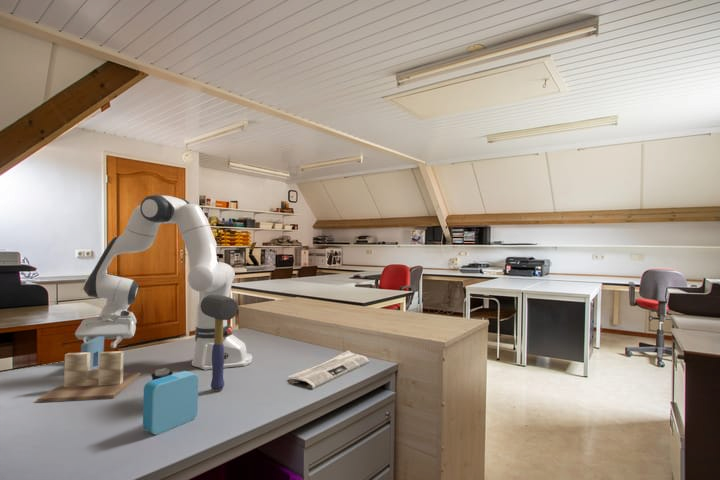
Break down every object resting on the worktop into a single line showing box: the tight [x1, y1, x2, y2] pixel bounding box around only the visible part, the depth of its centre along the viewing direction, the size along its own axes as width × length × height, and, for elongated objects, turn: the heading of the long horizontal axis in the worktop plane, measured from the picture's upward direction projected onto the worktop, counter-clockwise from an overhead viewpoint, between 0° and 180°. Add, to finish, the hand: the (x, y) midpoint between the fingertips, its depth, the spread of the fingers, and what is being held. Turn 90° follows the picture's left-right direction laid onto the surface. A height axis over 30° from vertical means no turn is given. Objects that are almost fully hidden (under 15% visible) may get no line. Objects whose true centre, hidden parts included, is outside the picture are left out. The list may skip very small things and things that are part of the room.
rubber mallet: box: [201, 295, 239, 392], centre depth 118 cm, size 12×8×30 cm, turn 49°
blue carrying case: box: [142, 370, 199, 436], centre depth 95 cm, size 12×4×12 cm, turn 147°
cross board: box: [36, 350, 142, 403], centre depth 119 cm, size 20×20×11 cm
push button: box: [150, 367, 174, 381], centre depth 105 cm, size 7×5×10 cm
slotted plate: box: [80, 336, 105, 369], centre depth 138 cm, size 12×2×10 cm, turn 10°
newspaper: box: [287, 349, 370, 390], centre depth 137 cm, size 35×12×4 cm, turn 146°
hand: (99, 347), depth 143 cm, fingers open, 8 cm apart
